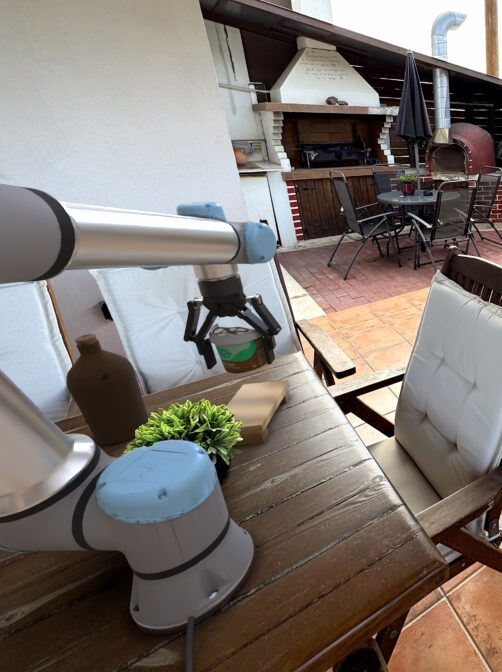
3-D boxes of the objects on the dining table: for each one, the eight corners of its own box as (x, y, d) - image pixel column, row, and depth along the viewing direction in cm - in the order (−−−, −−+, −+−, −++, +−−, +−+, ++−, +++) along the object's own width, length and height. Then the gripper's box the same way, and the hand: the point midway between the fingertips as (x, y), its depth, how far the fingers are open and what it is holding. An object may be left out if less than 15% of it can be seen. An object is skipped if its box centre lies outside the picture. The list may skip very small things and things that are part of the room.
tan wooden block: (266, 442, 91) (261, 424, 89) (212, 448, 89) (206, 430, 87) (292, 395, 107) (288, 380, 106) (247, 400, 106) (243, 384, 104)
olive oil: (165, 417, 99) (131, 327, 90) (122, 448, 89) (80, 350, 80) (126, 415, 100) (89, 325, 91) (79, 446, 90) (32, 348, 81)
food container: (204, 374, 91) (192, 334, 87) (225, 360, 96) (215, 322, 93) (253, 378, 89) (243, 338, 86) (272, 363, 95) (263, 326, 91)
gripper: (285, 267, 90) (302, 351, 98) (165, 273, 86) (193, 360, 94) (272, 278, 83) (292, 367, 91) (142, 285, 79) (174, 377, 87)
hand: (242, 363), depth 92 cm, fingers closed on food container, 12 cm apart
